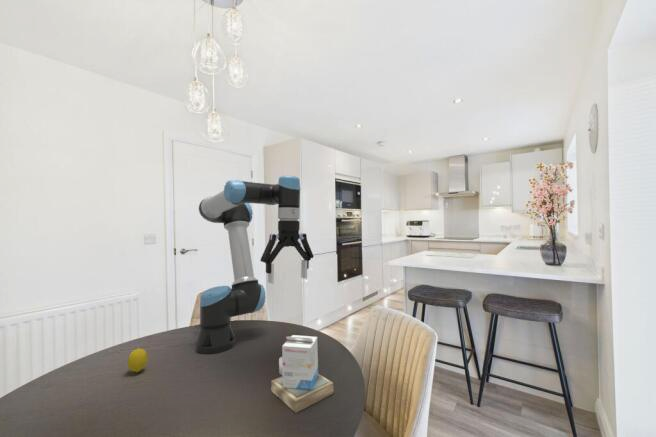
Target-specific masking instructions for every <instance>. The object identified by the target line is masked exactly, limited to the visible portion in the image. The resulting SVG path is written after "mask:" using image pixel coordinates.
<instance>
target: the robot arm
mask: <svg viewBox="0 0 656 437" xmlns="http://www.w3.org/2000/svg"><path fill="white" fill-rule="evenodd" d="M300 184H301V182H300V177H298V176H295V175H281V176H279V177H278V182H277V183H276V184H271V183H262V182H255V181H253V182H252V181H243V180H238V179H237V180H232V179H231V180H228V181H226V182H225V185H224V188H223V190H222V191H220V192H218V193H217V194H214V195H213V196H211V195H210V196H207V197H205V198H204V199H202V200H201V201H200V202H199V206H198V212H199V214H200V216H201V217H202V218H203V219H204V220H206V222H209V223H213V224H223V227H224V229H225V230H226V231H227V233H228V240H229V249H230V255H231V263H232V270H233V271H232V272H233V279H234V281H233V282H232V284H231V287H230V286H229V285H219V286H215V287H210V288H208V289H206V290H204V291H203V292H202V293H201V295H200V298H199V299H200V300H199V331H198V334H197V337H196V340H195V344H194V350H195V352H196V353H199V354H202V355H203V354H204V355H209V354H210V355H211V354H212V355H213V354H219V353H222V352H225V351H227V350H230V349H231V348H233V347H234V346H235V343H236V339H235V338H236V337H235V334H234V331H233V328H232V326H231V325H232V324H231V323H232V322H231V318H232V317H238V316H242V315H248V314H253V313H255V312H256V313H257V312H259V311H261V310H262V309H263V307H264V305H265V302H266V289H265V288H264V285H262V283H261V284H260V282H259V280H258V279H257V278H256V277H255V274H254V269H253V263H252V262H253V260H252V255H251V247H250V240H249V234H248V229H247V228H248V227H249V226H250V223H251V222H252V219H253V215H254V213H253V209H252V206H251V204H259V205H267V206H268V205H269V206H275V205H278V206H277V208H278V210H277V219H278V221H277V232H278V233H277V234H275V233H270V234H269V239H268V243H267V244H266V246H265V249H264V251H263V252H262V255H261V258H260V262H262V263H264V264H265V273H266V274H267V283H269V284H271V285H273V284H274V282H275V277H274V276H275V264H274V263H273V262H274V260H275V259H276V258H277V256H278V255H279V254H280V252H281V251H282V250H283V249H284V248H287V247H288V248H289V247H294V248H295V250H296V251H297V252H298V253H299V255H300V257H301V258H302V259H301V264H300V265H301V267H300V268H301V270H300V277H301V279H306V280H307V279H308V269H309V267H310V263H309V262H310V261H311V260H312V259H313V258H314V254H313V252H312V249H311V246H310V244H309V242H308V236H307V233H302V232H301V233H300V232H299V231H300V220H299V219H300V212H301V210H300V208H301V207H300V205H301V204H300V203H301V201H300V200H301V185H300ZM299 239H300V242H299ZM277 240H278V241H277ZM276 242H277V243H276ZM275 244H276V245H275ZM274 246H275V247H274Z"/></svg>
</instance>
